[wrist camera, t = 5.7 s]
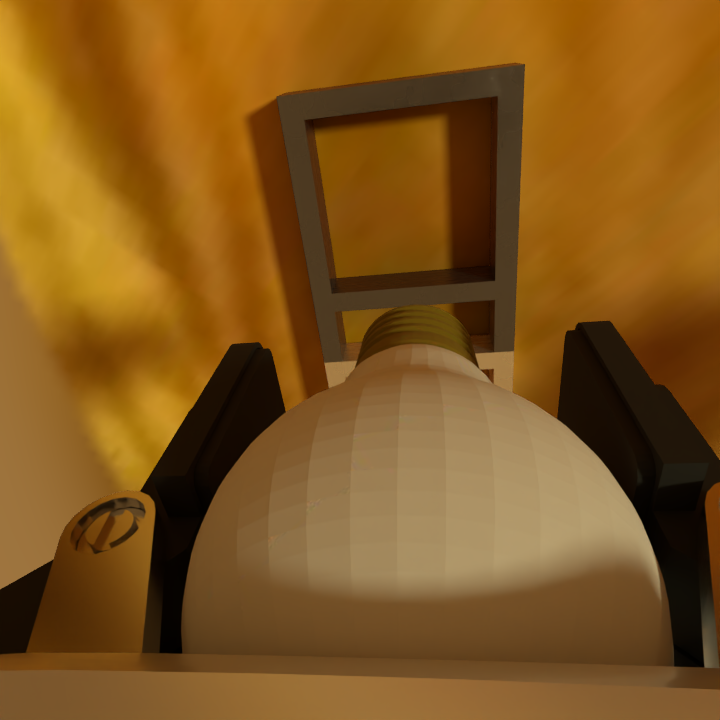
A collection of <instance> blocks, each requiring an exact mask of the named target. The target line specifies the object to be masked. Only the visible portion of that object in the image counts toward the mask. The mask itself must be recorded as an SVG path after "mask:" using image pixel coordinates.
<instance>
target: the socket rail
mask: <svg viewBox="0 0 720 720" xmlns="http://www.w3.org/2000/svg"><path fill="white" fill-rule="evenodd" d="M524 71H525V64H520V63H510V64H502V65H495V66H487V67H479V68H472V69H464V70H456V71H449V72H441V73H433V74H426V75H418V76H410V77H403V78H395V79H387V80H380V81H372V82H364V83H357V84H349V85H342V86H334V87H326V88H319V89H311V90H303V91H296V92H288V93H284V94H282V95H279V96H277V103H278V108H279V114H280V119H281V125H282V130H283V136H284V141H285V147H286V153H287V158H288V164H289V169H290V175H291V180H292V186H293V191H294V197H295V203H296V208H297V214H298V219H299V225H300V230H301V236H302V241H303V247H304V252H305V258H306V264H307V269H308V275H309V280H310V286H311V291H312V297H313V302H314V308H315V313H316V319H317V325H318V330H319V336H320V341H321V347H322V352H323V358H324V363H325V369H326V374H327V380H328V386H329V388H331V387H333V386H336V385H338V384H341V383H343V382H345V380H346V379H347V377H348V376H349V374H350V373H351V372H352V371H353V370H354V369H355V365H356V362H357V359H358V355H359V352H360V348H361V345H362V343H346V338H345V331H344V325H343V318H342V312H341V311H351V310H365V309H378V308H392V307H401V306H406V305H433V304H446V303H460V302H473V301H487V300H489V334H484V335H469V336H470V338H471V341H472V345H473V348H474V352H475V355H476V358H477V362H478V365H479V369H480V370H481V369H489V380H490V381H491V382H492V383H493V384H495V385H497V386H499V387H501V388H504V389H506V390H508V391H510V392H512V390H513V363H514V337H515V310H516V283H517V257H518V230H519V204H520V177H521V150H522V124H523V97H524ZM487 97H491V181H490V266H481V267H469V268H457V269H445V270H432V271H420V272H408V273H396V274H384V275H371V276H359V277H347V278H336V272H335V265H334V259H333V252H332V246H331V239H330V232H329V226H328V219H327V213H326V206H325V199H324V193H323V186H322V180H321V173H320V166H319V160H318V153H317V147H316V140H315V133H314V127H313V120H312V119H316V118H324V117H332V116H340V115H348V114H357V113H365V112H373V111H381V110H389V109H397V108H405V107H413V106H422V105H430V104H438V103H446V102H454V101H462V100H470V99H479V98H487Z"/></svg>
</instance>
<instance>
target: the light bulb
mask: <svg viewBox="0 0 720 720" xmlns="http://www.w3.org/2000/svg"><path fill="white" fill-rule="evenodd" d="M181 638H182V654H218V655H268V656H313V657H353V658H394V659H432V660H469V661H507V662H540V663H572V664H604V665H637V666H669V667H674V647H673V638H672V628H671V619H670V611H669V602H668V597H667V593H666V588H665V583H664V580H663V576H662V573H661V570H660V567H659V563H658V561H657V558H656V556H655V553H654V551H653V548H652V546H651V543H650V541H649V538H648V536H647V534H646V531H645V529H644V526H643V524H642V521H641V520H640V518H639V516H638V514H637V512H636V510H635V508H634V506H633V505H632V503H631V502H630V500H629V499H628V497H627V495H626V494H625V492H624V491H623V490H622V488H621V487H620V485H619V484H618V482H617V481H616V480H615V478H614V477H613V475H612V474H611V472H610V471H609V470H608V468H607V467H606V466H605V464H604V463H603V462H602V461H601V460H600V458H599V457H598V456H597V455H596V454H595V453H594V452H593V451H592V450H591V449H590V448H589V447H588V446H587V445H586V444H585V443H584V442H583V441H581V440H580V439H579V438H578V437H577V436H576V435H575V434H574V433H573V432H572V431H571V430H570V429H569V428H568V427H567V426H565V425H564V424H563V423H562V422H560V421H559V420H558V419H556V418H555V417H553V416H552V415H550V414H549V413H547V412H546V411H544V410H543V409H541V408H540V407H538V406H537V405H535V404H534V403H532V402H530V401H528V400H527V399H525V398H523V397H521V396H519V395H517V394H514V393H512V392H510V391H508V390H506V389H504V388H501V387H499V386H497V385H495V384H493V383H492V382H491V381H490V380H489V378H488V377H487V376H486V375H485V374H484V373H483V372H482V371H481V370H480V369H479V365H478V362H477V358H476V355H475V352H474V348H473V345H472V341H471V338H470V336H469V334H468V332H467V330H466V329H465V327H464V326H463V324H462V323H461V322H460V321H459V320H458V319H456V318H455V317H454V316H452V315H451V314H449V313H448V312H446V311H444V310H442V309H439V308H436V307H433V306H428V305H406V306H401V307H398V308H395V309H392V310H390V311H388V312H386V313H385V314H383V315H382V316H380V317H379V318H378V319H377V320H375V321H374V322H373V323H372V325H371V326H370V327H369V328H368V330H367V332H366V334H365V335H364V338H363V341H362V345H361V348H360V352H359V355H358V359H357V362H356V365H355V369H354V370H353V371H352V372H351V373H350V374H349V376H348V377H347V379H346V380H345V382H343V383H341V384H338V385H336V386H333V387H331V388H329V389H326V390H324V391H321V392H319V393H317V394H315V395H313V396H312V397H310V398H308V399H307V400H305V401H303V402H302V403H300V404H298V405H297V406H295V407H294V408H292V409H290V410H289V411H287V412H286V413H284V414H283V415H282V416H281V417H279V418H278V419H277V420H276V421H275V422H274V423H273V424H271V425H270V426H269V427H268V428H267V429H266V430H265V431H264V432H262V433H261V434H260V435H259V436H258V437H257V438H256V439H255V440H254V441H253V442H252V443H251V444H250V445H249V447H248V448H247V449H246V450H245V452H244V453H243V454H242V455H241V457H240V458H239V459H238V461H237V462H236V463H235V465H234V466H233V467H232V469H231V470H230V471H229V473H228V474H227V475H226V477H225V478H224V480H223V482H222V483H221V485H220V486H219V488H218V490H217V492H216V494H215V496H214V498H213V500H212V502H211V504H210V506H209V509H208V511H207V513H206V515H205V518H204V520H203V522H202V524H201V527H200V529H199V532H198V534H197V537H196V540H195V543H194V547H193V550H192V554H191V558H190V563H189V568H188V573H187V579H186V585H185V590H184V597H183V606H182V621H181Z"/></svg>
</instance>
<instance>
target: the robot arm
mask: <svg viewBox="0 0 720 720" xmlns="http://www.w3.org/2000/svg"><path fill="white" fill-rule="evenodd" d="M284 413H286V411H285V407H284V403H283V398H282V394H281V390H280V386H279V382H278V377H277V373H276V369H275V365H274V361H273V356H272V353H271V351H270V349H263V347H262V345H261V344H260V343H259V342H256V343H240V344H232V345H231V346H230V347H229V349H228V351H227V352H226V354H225V356H224V357H223V359H222V361H221V362H220V364H219V365H218V367H217V369H216V370H215V372H214V374H213V375H212V377H211V379H210V380H209V382H208V384H207V385H206V387H205V388H204V390H203V392H202V393H201V395H200V397H199V398H198V400H197V402H196V403H195V405H194V406H193V408H192V409H191V410H190V411H189V413H188V414H187V416H186V417H185V419H184V421H183V422H182V424H181V426H180V427H179V429H178V431H177V432H176V434H175V435H174V437H173V439H172V440H171V442H170V444H169V445H168V447H167V448H166V450H165V452H164V453H163V455H162V457H161V458H160V460H159V461H158V463H157V465H156V466H155V468H154V470H153V471H152V473H151V475H150V476H149V478H148V479H147V481H146V483H145V484H144V486H143V488H142V489H141V491H122V492H117V493H113V494H110V495H107V496H104V497H102V498H100V499H98V500H96V501H94V502H92V503H91V504H89V505H87V506H86V507H85V508H83V509H82V510H81V511H80V512H78V513H77V514H76V515H75V516H74V517H73V518H72V519H71V520H70V522H69V523H68V524H67V525H66V527H65V529H64V530H63V533H62V535H61V537H60V539H59V543H58V546H57V550H56V553H55V557H54V559H53V560H52V561H50V562H48V563H47V564H45V565H43V566H41V567H39V568H38V569H36V570H34V571H32V572H30V573H29V574H27V575H25V576H24V577H22V578H20V579H18V580H17V581H15V582H13V583H11V584H9V585H8V586H6V587H4V588H2V589H0V720H720V460H719V458H718V457H717V456H716V454H715V453H714V452H713V450H712V449H711V447H710V446H709V445H708V443H707V442H706V441H705V439H704V438H703V436H702V435H701V434H700V432H699V431H698V430H697V428H696V427H695V425H694V424H693V423H692V421H691V420H690V419H689V417H688V416H687V414H686V413H685V412H684V410H683V409H682V408H681V406H680V405H679V403H678V402H677V401H676V399H675V398H674V397H673V395H672V394H671V392H670V391H669V390H668V389H667V388H666V387H665V386H663V385H655V384H654V383H653V381H652V380H651V379H650V377H649V376H648V374H647V373H646V371H645V370H644V369H643V367H642V366H641V364H640V363H639V361H638V360H637V359H636V357H635V356H634V354H633V353H632V351H631V350H630V348H629V347H628V346H627V344H626V343H625V341H624V340H623V338H622V337H621V336H620V334H619V333H618V331H617V330H616V328H615V327H614V326H613V324H612V323H611V322H610V321H598V322H582V323H578V324H577V325H576V328H575V330H570V331H567V332H566V335H565V343H564V353H563V364H562V375H561V385H560V396H559V407H558V417H557V419H558V420H559V421H560V422H562V423H563V424H564V425H565V426H567V427H568V428H569V429H570V430H571V431H572V432H573V433H574V434H575V435H576V436H577V437H578V438H579V439H580V440H581V441H583V442H584V443H585V444H586V445H587V446H588V447H589V448H590V449H591V450H592V451H593V452H594V453H595V454H596V455H597V456H598V457H599V458H600V460H601V461H602V462H603V463H604V464H605V466H606V467H607V468H608V470H609V471H610V472H611V474H612V475H613V477H614V478H615V480H616V481H617V482H618V484H619V485H620V487H621V488H622V490H623V491H624V492H625V494H626V495H627V497H628V499H629V500H630V502H631V503H632V505H633V506H634V508H635V510H636V512H637V514H638V516H639V518H640V520H641V521H642V524H643V526H644V529H645V531H646V534H647V536H648V538H649V541H650V543H651V546H652V548H653V551H654V553H655V556H656V558H657V561H658V563H659V567H660V570H661V573H662V576H663V580H664V583H665V588H666V593H667V597H668V602H669V611H670V619H671V628H672V638H673V647H674V667H669V666H637V665H604V664H572V663H540V662H507V661H469V660H432V659H394V658H353V657H313V656H268V655H218V654H182V638H181V621H182V606H183V597H184V590H185V585H186V579H187V573H188V568H189V563H190V558H191V554H192V550H193V547H194V543H195V540H196V537H197V534H198V532H199V529H200V527H201V524H202V522H203V520H204V518H205V515H206V513H207V511H208V509H209V506H210V504H211V502H212V500H213V498H214V496H215V494H216V492H217V490H218V488H219V486H220V485H221V483H222V482H223V480H224V478H225V477H226V475H227V474H228V473H229V471H230V470H231V469H232V467H233V466H234V465H235V463H236V462H237V461H238V459H239V458H240V457H241V455H242V454H243V453H244V452H245V450H246V449H247V448H248V447H249V445H250V444H251V443H252V442H253V441H254V440H255V439H256V438H257V437H258V436H259V435H260V434H261V433H262V432H264V431H265V430H266V429H267V428H268V427H269V426H270V425H271V424H273V423H274V422H275V421H276V420H277V419H278V418H279V417H281V416H282V415H283V414H284Z"/></svg>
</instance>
